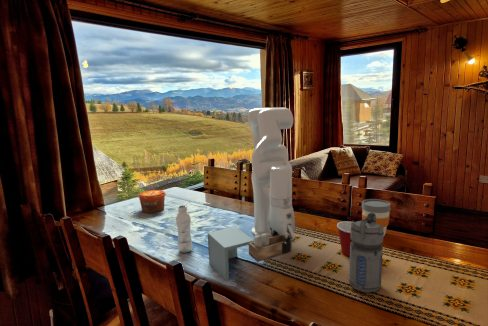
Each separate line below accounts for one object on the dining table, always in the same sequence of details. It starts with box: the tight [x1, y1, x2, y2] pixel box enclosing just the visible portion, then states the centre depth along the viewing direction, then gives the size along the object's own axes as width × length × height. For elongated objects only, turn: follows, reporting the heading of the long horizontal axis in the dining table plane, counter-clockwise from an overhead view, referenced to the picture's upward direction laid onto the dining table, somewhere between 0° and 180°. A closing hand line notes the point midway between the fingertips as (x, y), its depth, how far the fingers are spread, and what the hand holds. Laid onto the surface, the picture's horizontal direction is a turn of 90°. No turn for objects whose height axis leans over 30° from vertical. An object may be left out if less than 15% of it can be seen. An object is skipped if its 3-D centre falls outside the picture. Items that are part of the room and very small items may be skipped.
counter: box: [207, 226, 254, 282], centre depth 128 cm, size 12×16×13 cm
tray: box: [248, 233, 293, 263], centre depth 117 cm, size 14×6×7 cm, turn 118°
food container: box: [137, 189, 167, 214], centre depth 200 cm, size 16×16×11 cm
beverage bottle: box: [348, 213, 385, 293], centre depth 111 cm, size 10×13×25 cm
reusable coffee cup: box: [361, 198, 392, 237], centre depth 155 cm, size 12×13×15 cm
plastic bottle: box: [175, 205, 193, 254], centre depth 142 cm, size 6×7×20 cm
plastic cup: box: [336, 220, 355, 257], centre depth 136 cm, size 11×11×12 cm
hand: (280, 248), depth 119 cm, fingers closed on tray, 6 cm apart
